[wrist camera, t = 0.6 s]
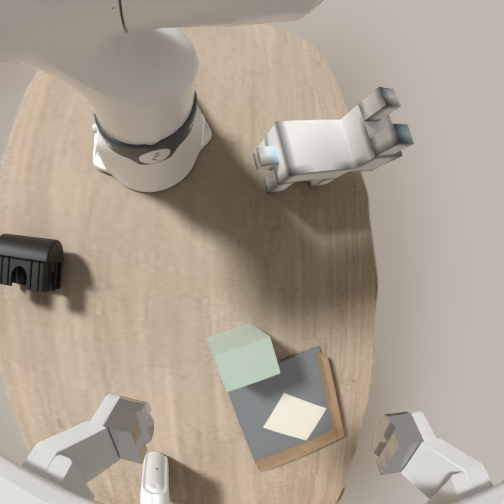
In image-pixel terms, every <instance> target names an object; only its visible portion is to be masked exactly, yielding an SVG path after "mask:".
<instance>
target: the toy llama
mask: <svg viewBox="0 0 504 504" xmlns="http://www.w3.org/2000/svg"><path fill="white" fill-rule="evenodd" d="M399 107H400V104H399V101H398V99H397V96H396V94H395V91H394V89H390V88H382V87H378V88H377V89H376V90H375V91H374V92H373V93H371V94H370V95H369V96H368V97H367V98H365V99H364V100H363V101H362V102H361V103H359V104H358V105H357V106H356V107H355V108H353V109H352V110H351V111H350V112H349V113H348V114H346V115H345V116H344V117H343V118H342V119H341V120H299V121H279V122H276V123H275V124H274V126H273V127H272V128H271V130H270V131H269V133H268V134H267V135H266V137H265V138H264V140H263V141H262V143H261V144H260V145H259V147H257V149H256V150H255V152H254V153H253V156H254V161H255V165H256V169H257V170H265V169H272V170H271V172H270V173H269V174H268V175H267V176H266V177H265V178H264V181H265V185H266V190H267V194H268V193H274V192H281V191H283V190H285V189H286V188H287V187H289V186H290V185H292V184H293V183H297V182H304V181H309V184H310V187H316V186H323V185H325V184H327V183H329V182H331V181H332V180H334V179H336V178H338V177H340V176H341V175H343V174H345V173H350V172H361V171H372V170H374V169H376V168H378V167H380V166H382V165H384V164H386V163H388V162H391V161H392V160H395V159H397V158H399V157H401V156H402V153H401V150H403V149H405V148H407V147H408V146H411V145H412V144H414V143H413V139H412V137H411V134H410V131H409V128H408V125H406V124H392V123H391V120H390V117H389V114H390V113H391V112H393V111H394V110H396V109H397V108H399Z"/></svg>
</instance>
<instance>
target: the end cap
mask: <svg viewBox="0 0 504 504" xmlns="http://www.w3.org/2000/svg"><path fill="white" fill-rule="evenodd" d="M62 263H63V248H62V245H61V243H60V242H59V241H58V240H53V239H45V238H37V237H29V236H20V235H12V234H2V235H1V236H0V284H4V285H9V286H12V282H13V283H18V284H23V285H25V284H27V285H26V289H29V290H35V291H40V292H49V291H50V289H51V291H55V290H56V289H59V288H60V285H61V271H62Z"/></svg>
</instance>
